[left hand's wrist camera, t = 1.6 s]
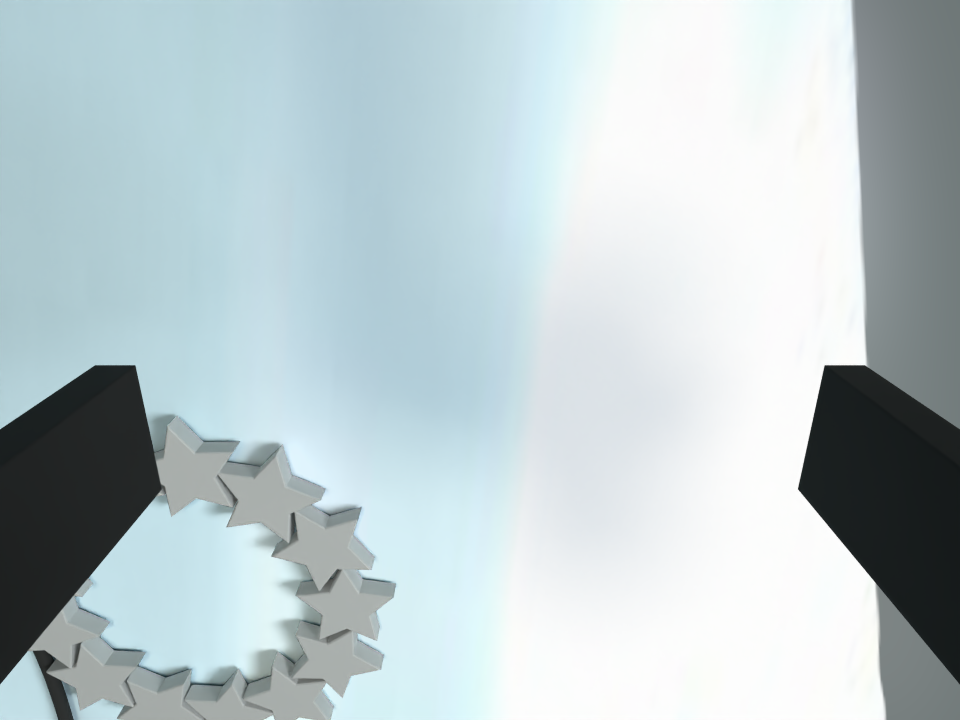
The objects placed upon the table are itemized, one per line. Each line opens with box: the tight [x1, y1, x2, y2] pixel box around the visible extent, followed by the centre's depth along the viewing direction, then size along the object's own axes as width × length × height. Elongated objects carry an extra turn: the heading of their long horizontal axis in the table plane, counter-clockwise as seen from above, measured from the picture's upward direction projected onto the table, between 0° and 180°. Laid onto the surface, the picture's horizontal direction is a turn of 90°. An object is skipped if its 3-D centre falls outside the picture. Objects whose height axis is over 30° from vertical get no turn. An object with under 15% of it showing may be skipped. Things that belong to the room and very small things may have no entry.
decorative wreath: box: [28, 416, 396, 720], centre depth 48 cm, size 30×2×30 cm
